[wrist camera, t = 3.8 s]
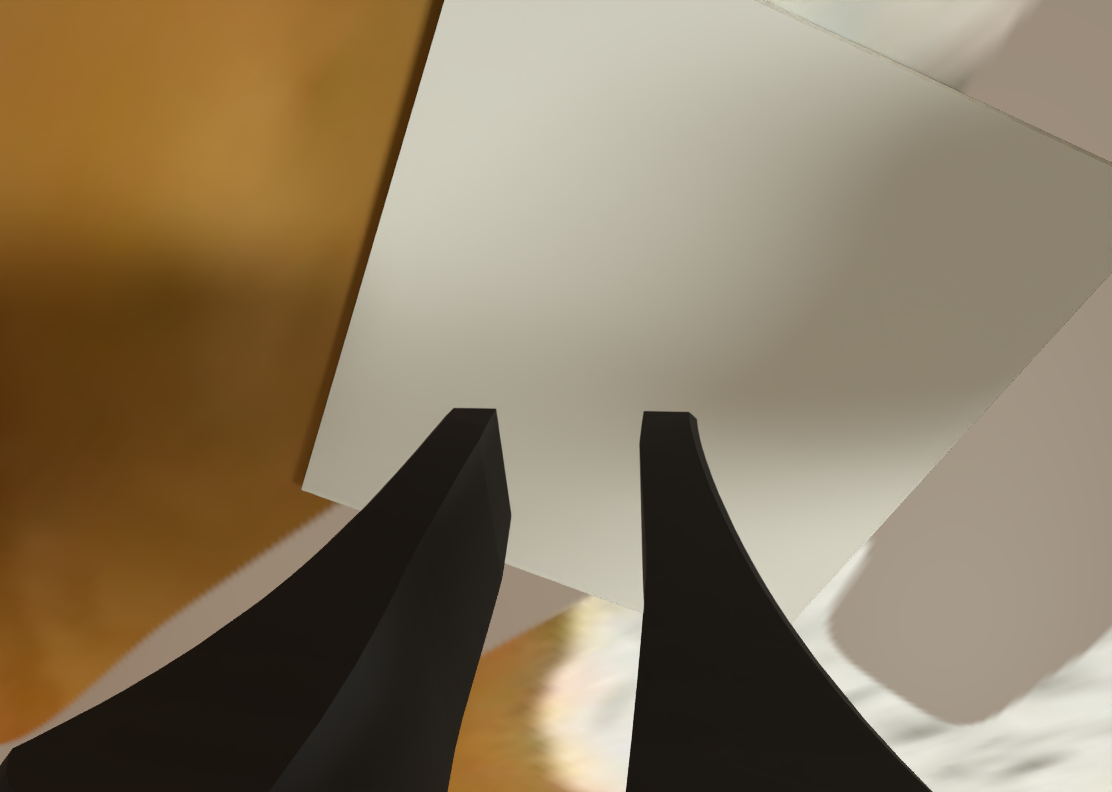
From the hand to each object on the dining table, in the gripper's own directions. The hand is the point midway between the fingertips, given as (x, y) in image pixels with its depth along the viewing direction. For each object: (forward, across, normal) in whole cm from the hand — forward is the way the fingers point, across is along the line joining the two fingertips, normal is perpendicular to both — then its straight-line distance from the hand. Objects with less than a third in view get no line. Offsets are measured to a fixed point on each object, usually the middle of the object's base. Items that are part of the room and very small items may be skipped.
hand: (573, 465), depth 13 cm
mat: (+10, -1, +5) cm, 12 cm away
